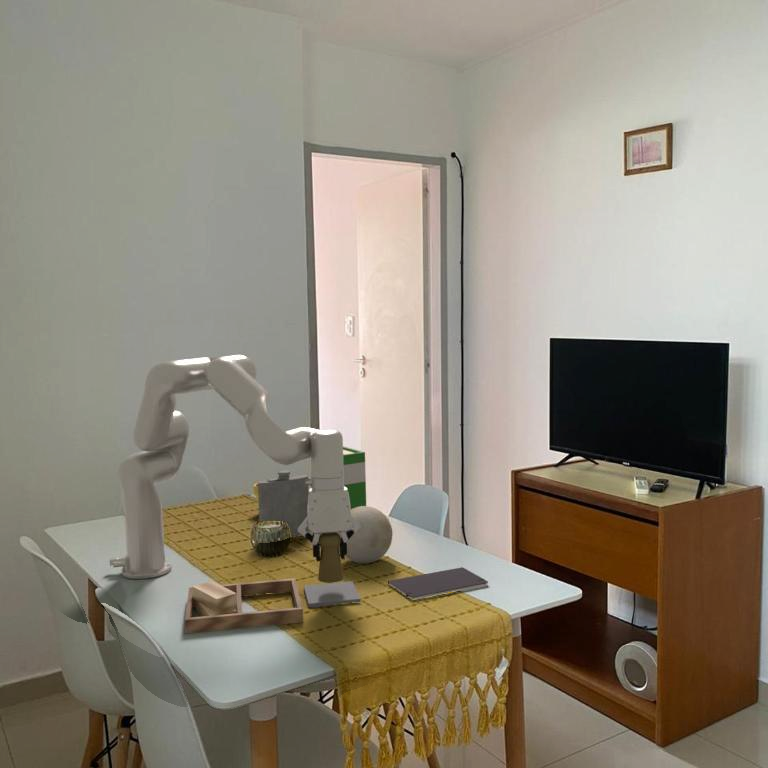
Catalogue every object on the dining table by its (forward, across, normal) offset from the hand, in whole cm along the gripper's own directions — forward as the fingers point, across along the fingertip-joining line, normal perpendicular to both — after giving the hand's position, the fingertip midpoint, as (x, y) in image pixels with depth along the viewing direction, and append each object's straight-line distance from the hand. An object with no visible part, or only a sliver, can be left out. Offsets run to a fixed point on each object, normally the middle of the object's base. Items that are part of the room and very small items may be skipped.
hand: (330, 557), depth 191 cm
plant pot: (+10, -10, +81) cm, 82 cm away
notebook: (+10, +26, +1) cm, 28 cm away
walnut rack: (+9, -20, -4) cm, 23 cm away
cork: (+5, 0, 0) cm, 5 cm away
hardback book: (+10, +11, +60) cm, 62 cm away
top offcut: (+7, -27, -4) cm, 28 cm away
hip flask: (+10, -7, +52) cm, 53 cm away
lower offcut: (+10, -27, -4) cm, 29 cm away
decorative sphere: (+10, +12, +23) cm, 28 cm away
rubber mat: (+9, 0, 0) cm, 9 cm away
